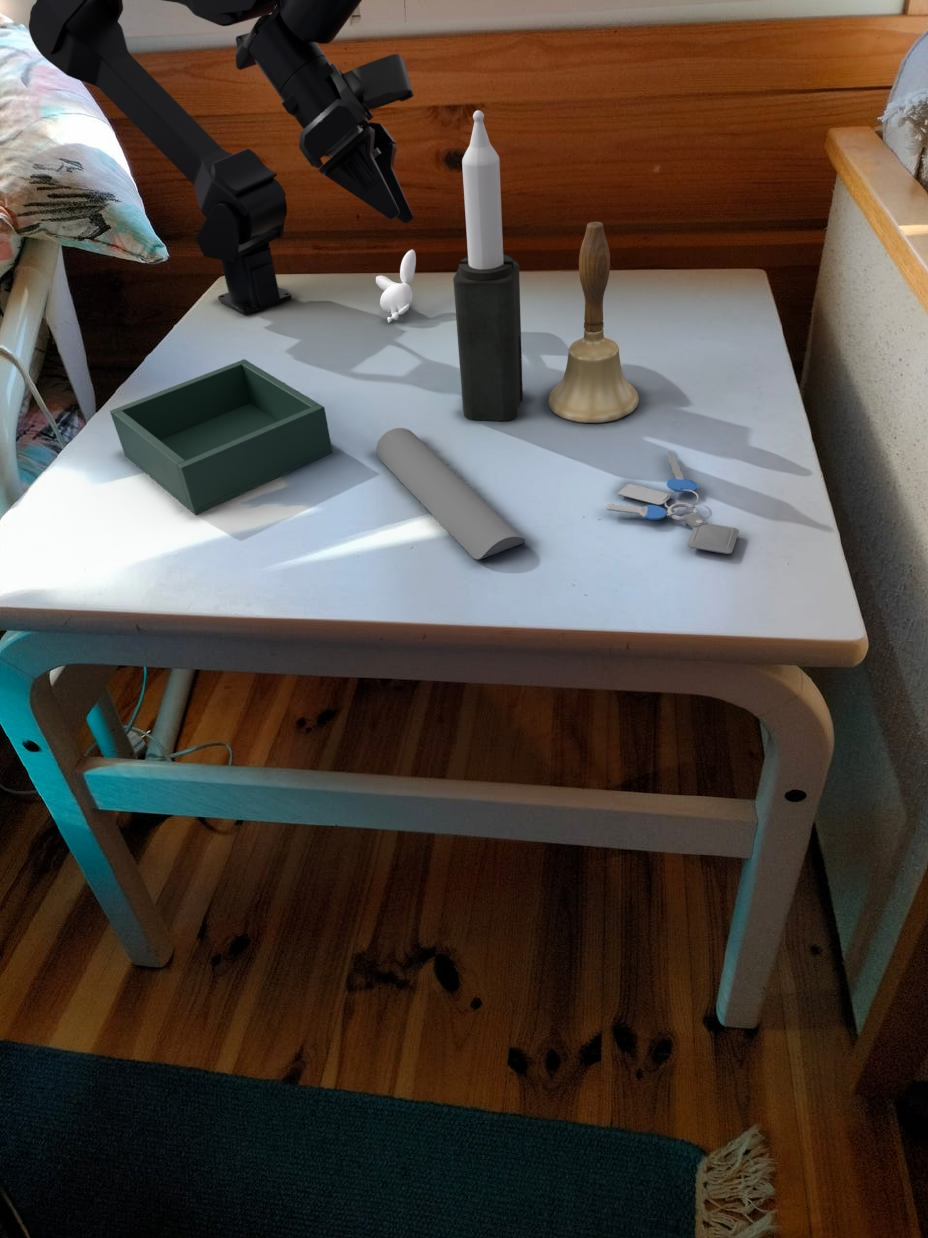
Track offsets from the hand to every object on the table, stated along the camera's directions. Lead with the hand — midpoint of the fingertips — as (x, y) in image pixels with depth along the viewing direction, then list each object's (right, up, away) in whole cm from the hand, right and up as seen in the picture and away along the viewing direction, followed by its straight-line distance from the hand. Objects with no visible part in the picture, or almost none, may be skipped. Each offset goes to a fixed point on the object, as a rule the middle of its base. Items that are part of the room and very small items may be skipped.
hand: (403, 218), depth 95 cm
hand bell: (+18, -20, -7) cm, 27 cm away
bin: (-15, -25, -9) cm, 31 cm away
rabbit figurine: (-1, -5, +13) cm, 14 cm away
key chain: (+21, -32, -21) cm, 43 cm away
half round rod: (+5, -30, -17) cm, 35 cm away
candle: (+9, -20, -6) cm, 23 cm away
